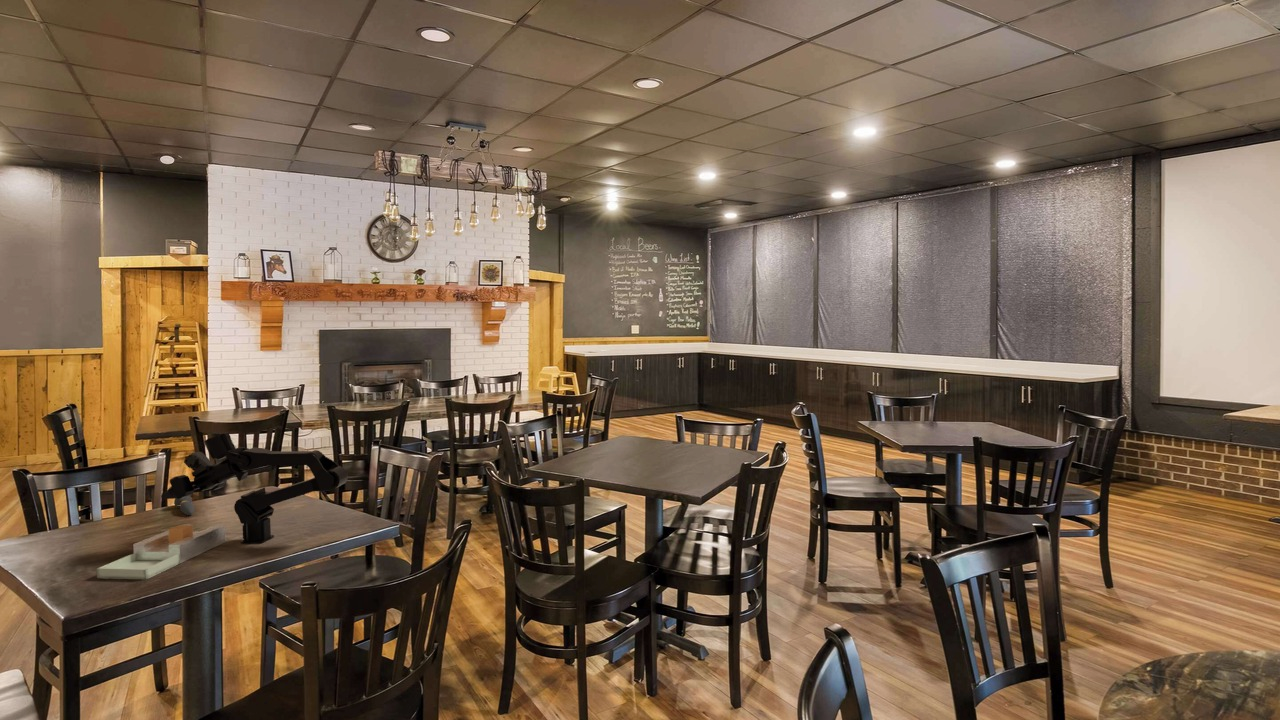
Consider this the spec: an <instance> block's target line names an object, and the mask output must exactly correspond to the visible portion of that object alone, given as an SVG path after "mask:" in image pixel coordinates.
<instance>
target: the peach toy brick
mask: <svg viewBox="0 0 1280 720" xmlns="http://www.w3.org/2000/svg"><path fill="white" fill-rule="evenodd" d="M168 530H169V543H174V542H176V541H179V540H181V539H184V538H186V537H188V536H191V535H193V531H194V525H193V524H179V525H176V526H173V527H171V528H169V529H168Z"/></svg>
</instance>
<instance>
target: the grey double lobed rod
mask: <svg viewBox="0 0 1280 720" xmlns="http://www.w3.org/2000/svg"><path fill="white" fill-rule="evenodd" d="M173 504H174V506H175V508H177V509H180V511H181V512H182V513H183V514H184V515H186V516H192V515H193V514H194V513H195V507H194V504H193V502H192V497H191V495H190V496H188V497H185V498H182V499H174V501H173ZM177 505H181V506H177Z"/></svg>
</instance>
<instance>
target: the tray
mask: <svg viewBox="0 0 1280 720" xmlns="http://www.w3.org/2000/svg"><path fill="white" fill-rule="evenodd" d="M179 564H180V563H179V557H178V555H175V556H172V557H170V558H168V559H166V560H164V561H135V558H134V553H131V554H129V555H126V556H123V557H121V558H119V559H117V560H114V561H112V562H110V563H109V562H108V563H107V564H105V565H103V566H99V567H97V568H96V578H97V579H105V580H106V579H107V580H108V579H111V580H114V579H115V580H117V579H118V580H148V579H150V578H152V577H154V576H157V575H158V574H161V573H162V572H165V571H167V570H169V569H171V568H173V567H175V566H178V565H179Z"/></svg>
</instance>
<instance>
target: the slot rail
mask: <svg viewBox="0 0 1280 720" xmlns="http://www.w3.org/2000/svg"><path fill="white" fill-rule="evenodd" d="M226 541H227V540H226V525H225V524H215V525H212V526H210V527H207V528H205V529H203V530H200V531H198V530H197V531H194V530H193V535H191V536H188V537H186V538H184V539H181V540H179V541H176V542H174V543H169V529H167V530H166V531H163V532H161V533H158V534H155V535H152V536H150V537H148V538H146V539H143V540H140V541H138V542H135V543H133V554H134V558H135V561H164V560H166V559H168V558H170V557H172V556H175V555H178V557H179V564H182V563H184V562H186V561H188V560H190V559H192V558H195V557H197V556H199V555H201V554H203V553H206V552H207V551H209V550H212V549H214V548H215V547H217V546H220V545H222V544H225V543H226Z"/></svg>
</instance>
